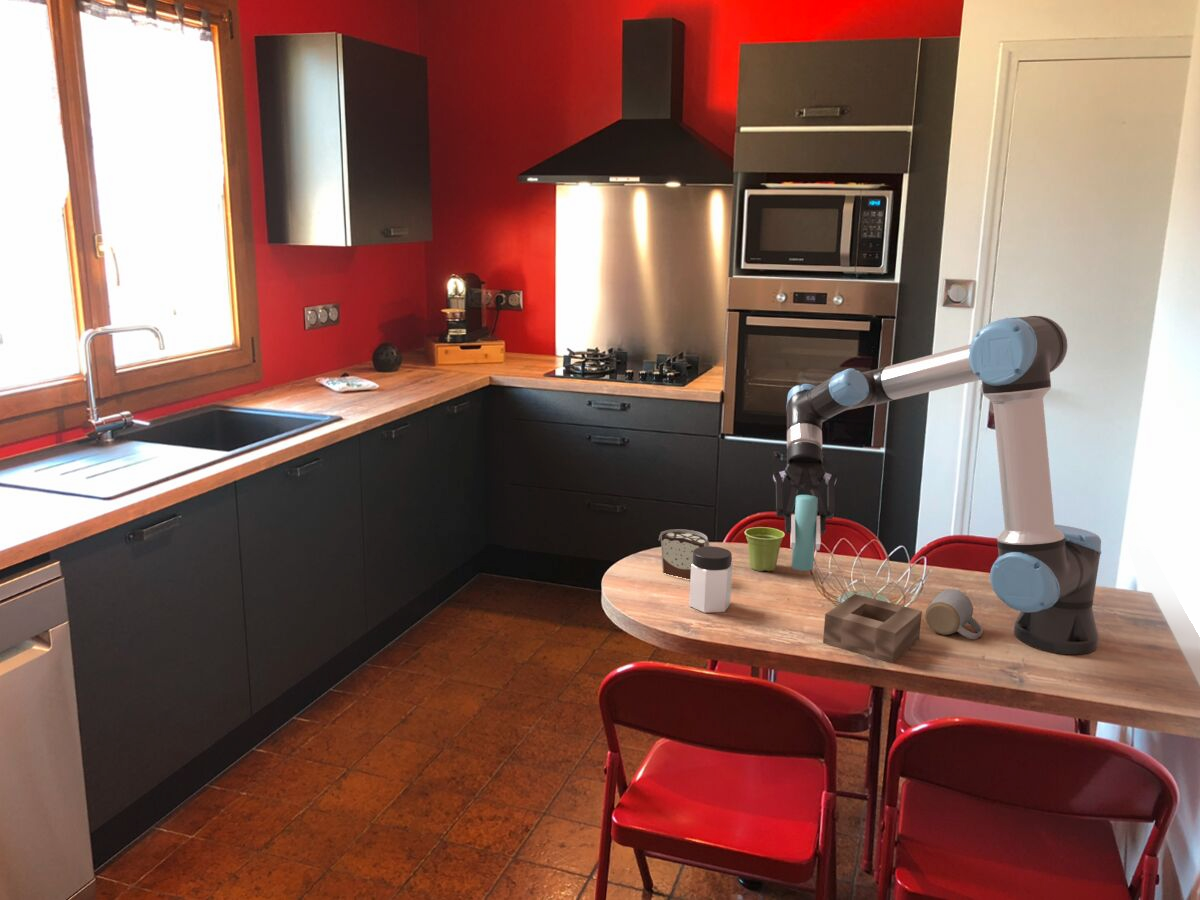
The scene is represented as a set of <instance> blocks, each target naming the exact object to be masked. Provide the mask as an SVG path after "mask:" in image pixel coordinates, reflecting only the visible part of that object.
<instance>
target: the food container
mask: <svg viewBox="0 0 1200 900" xmlns="http://www.w3.org/2000/svg"><path fill="white" fill-rule="evenodd" d="M658 541H660V545H661V546H660V547H661V548H660V549H661V564H662V565H661V567H662V574H663V573H666V574H669V575H673V576H678V577H682V578H686V579H690V577H691V565H692V564H693V551H694V550H695V549H696V548H699V547H706V546H710V542H709V539H708V536H707V535H706V534H704V533H703V532H700V531H696V530H692V529H691V530H690V529H682V528H681V529H667V530H664V531H661V532H660V534H659V536H658Z"/></svg>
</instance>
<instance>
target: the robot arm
mask: <svg viewBox="0 0 1200 900" xmlns="http://www.w3.org/2000/svg"><path fill="white" fill-rule="evenodd" d="M1064 331H1065V330H1063V328H1062V326H1060V325H1059V323H1057V322H1056V321H1055V320H1053V319H1051V318H1049V317H1046V316H1041V315H1030V316H1029V315H1028V316H1019V317H1017V316H1016V317H1004V318H1003V319H1002V318H1001V319H997V320H995V321H991V322H990V323H987V324H986V325H984V326H982V327H981V328H980V329H979V331H978V332H977V333H976V334H975V335H974V336H973V338H972V340H971V343H970V344H967V345H963V346H960V347H956V348H951V349H948V350H943V351H941V352H937V353H933V354H930V355H925V356H922V357H921V356H920V357H918V358H915V359H911V360H906V361H903V362H899V363H896V364H895V363H894V364H891V365H888V366H884V367H880V368H876V369H872V370H868V371H863V372H861V371H859V370H856V369H855V368H847V369H844V370H842V371H840V372H837V373H835V374H834V375H833V376H831V377H830V378H828V379H826V380H824V381H822V382H821V383H820V384H818V385H814V384H810V383H802V384H800V385H799V384H797V385H794V386H793V387H792V388H791V389H790V390H789V391H788V393H787V398H786V399H787V401H786V406H785V407H786V408H785V409H786V449H787V450H786V466H785V468H784V470H782V471H779V470H774V471H773V475H772V480H773V483H774V485H775V515H776V517H778V518H780V517H781V518H783V519H784V531H785V533H790V539H789V540H790V545H789V547H790V549H791V550H793V549H794V547H795V514H793V510H794V507H795V503H796V496H798V491H799V490H804V489H805V490H809V491H810V494H811V495H812V496H815V497H817V498H818V503H817V517H816V532H815V549H814V551H820V548H821V544H822V543H821V542H822V540H821V535H825V533H826V530H827V529H826V528H827V526H826V521H827V520H833V518H834V514H835V486H836V484H837V479H838V474H837V473H835V472H834V473H832V474H831V473H828V472H826V470H825V468H824V466H823V465H824V463H823V422H825V421H827V420H829V419H831V418H833V417H834V416H836V415H838V414H841V413H843V412H845V411H848V410H854V409H858V408H859V409H860V408H864V407H867V406H876V405H881V404H885V403H887V402H892V401H895V400H900V399H904V398H908V397H913V396H917V395H921V394H926V393H929V392H935V391H938V390H943V389H947V388H951V387H957V386H961V385H965V384H969V383H973V382H978V381H981V387H982V394H983V396H984V397H985V398H987V399H988V400H989V401H990V402H991V403H992V406H993V408H992V409H993V416H994V417H993V418H994V428H995V429H994V430H995V439H996V440H995V441H996V448H997V449H996V450H997V459H998V460H997V462H998V469H999V472H998V473H999V482H1000V491H1001V492H1000V493H1001V501H1002V502H1001V503H1002V504H1001V505H1002V513H1003V514H1002V515H1003V523H1004V529H1003V531H1002V532H1001V533H1000V534H999V535H998V536H997V539H996V540H997V543H996V544H997V551H998V557H997V558H996V560H995V561H994V562H993V564H992V566H991V568H990V573H989V574H990V576H989V577H990V578H989V581H990V584H991V587H992V590H993V591H994V593H995V595H996V597H997V598H998V599H999V600H1000V601H1002V602H1003V603H1004V604H1005V605H1007V606H1008V607H1009V608H1011V609H1013V610H1014V611H1018V612H1019V614H1018V615H1017V617H1016V619H1015V622H1014V629H1013V634H1014V635H1015V637H1016V638H1017V639H1018V640H1019V641H1021V642H1023V643H1024V644H1026V645H1028V646H1029V647H1033V648H1035V649H1039V650H1042V651H1045V652H1049V653H1053V654H1061V655H1085V654H1089V653H1092V652H1094V651H1096V650H1097V647H1098V640H1099V634H1098V630H1097V625H1096V620H1095V615H1094V612H1093V606H1094V598H1095V592H1096V585H1097V584H1096V583H1097V579H1098V578H1097V577H1098V572H1099V564H1100V559H1101V558H1100V557H1101V554H1102V551H1101V549H1102V540H1101V538H1100V536H1099V535H1098V534H1096V533H1094V532H1092V531H1089V530H1086V529H1082V528H1079V527H1074V526H1069V525H1062V524H1055V515H1054V505H1053V504H1054V503H1053V494H1052V482H1051V480H1052V479H1051V471H1050V460H1049V449H1048V440H1047V439H1048V438H1047V428H1046V417H1045V406H1044V405H1045V404H1044V397H1045V396H1046V394H1047V393H1049V391H1050V390H1051V389H1052V384H1051V383H1052V381H1051V373H1052V372H1054V371H1055V370H1056V369H1058V368H1059V367H1060V365H1061V364H1062V363H1063V362H1064V360H1065V357H1066V356H1067V352H1068V339H1067V338H1068V337H1067V335H1066V332H1064ZM785 478H786V479H787V480H788V481H789V482H790V484H791V485H792V486H791V491H790V494H789V498H788V501H787V505H786V508H784V502H783V501H784V497H783V496H784V495H783V494H784V493H783V483H784V481H785ZM823 480H825V484H826V485H827V489H826V493H827V494H826V496H827V497H826V498H827V500H826V502H827V503H826V504H827V505H826V506H827V507H826V509H825V505H824V502H823V499H822V496H821V495H822V494H821V491H820V488H819V484H820V482H822V481H823Z"/></svg>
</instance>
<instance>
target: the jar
mask: <svg viewBox="0 0 1200 900" xmlns="http://www.w3.org/2000/svg"><path fill="white" fill-rule="evenodd" d="M732 556H733V554H732V552H731V551H730V550H728V549H727V548H724V547H719V546H710V545H709V546H706V547H699V548H696V549H695V550H694V551H693V564H692V565H691V577H690V581H689V582H690V583H689V599H688V601H689V603H688V607H690V608H692V607H693V609H695V610H698V611H699V612H702V613H703V614H704V613H706V614H708V613H710V614H711V613H712V614H713V613H725V612H726V610H727V609H728V608H729V606H730V605H731V593H732V575H733V574H732V573H733V563H732V561H733V558H732Z"/></svg>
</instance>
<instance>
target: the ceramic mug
mask: <svg viewBox="0 0 1200 900" xmlns="http://www.w3.org/2000/svg"><path fill="white" fill-rule="evenodd" d="M973 614H974V607H973V604H972V601H971V599H970V598H969V597H968V596H967V594H965V593H964V592H962V591H960V590H959V589H954V588H948V589H947V588H946V589H944V590H942V591H940V592H939V593H938V594H937V596H936V597H935V598H934V599H933V600H932V601H931V602H930V604H929V605H928V606H927V608H926V611H925V621H926V624H927V625H928V627H929V628H930V630H932V631H933V632H935V633H937V634H939V635H942V636H948V635H952V634H955V633H959V634H960V635H961V636H963V637H965V638H966V639H970V640H978V639H979V638H980V637H981V635H982V633H983V630H984V629H983V627H982V626H981V624H980V622H978V621H977V620H976V619H975V618H974V617H973ZM967 624H968V625H970V627H972V628H973V630H975V632H976V633H974V632H972V631H970V630H968V629H966V628H965V627H964V626H965V625H967Z"/></svg>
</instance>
